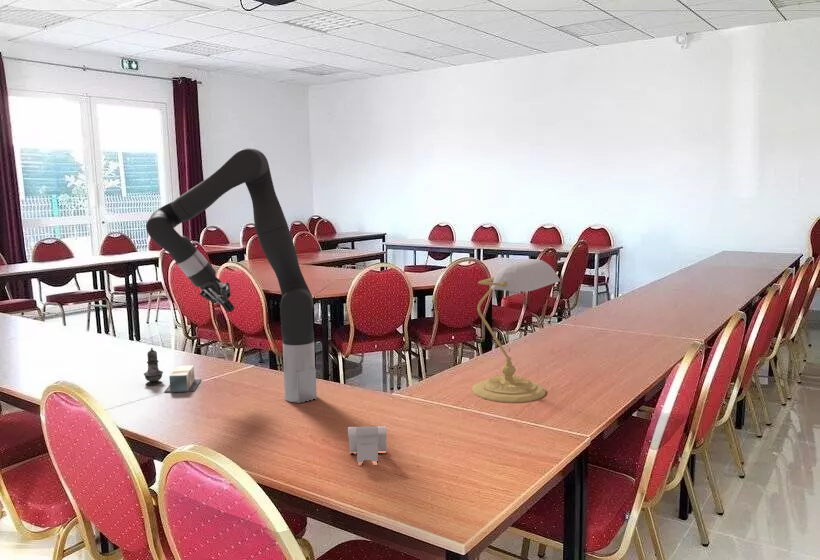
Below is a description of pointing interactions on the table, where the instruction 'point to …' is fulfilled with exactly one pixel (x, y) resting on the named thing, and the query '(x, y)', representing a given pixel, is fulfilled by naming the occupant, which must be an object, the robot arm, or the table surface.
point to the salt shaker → (153, 370)
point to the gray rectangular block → (192, 388)
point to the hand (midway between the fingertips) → (231, 310)
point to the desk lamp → (516, 280)
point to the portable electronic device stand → (367, 441)
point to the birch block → (182, 378)
